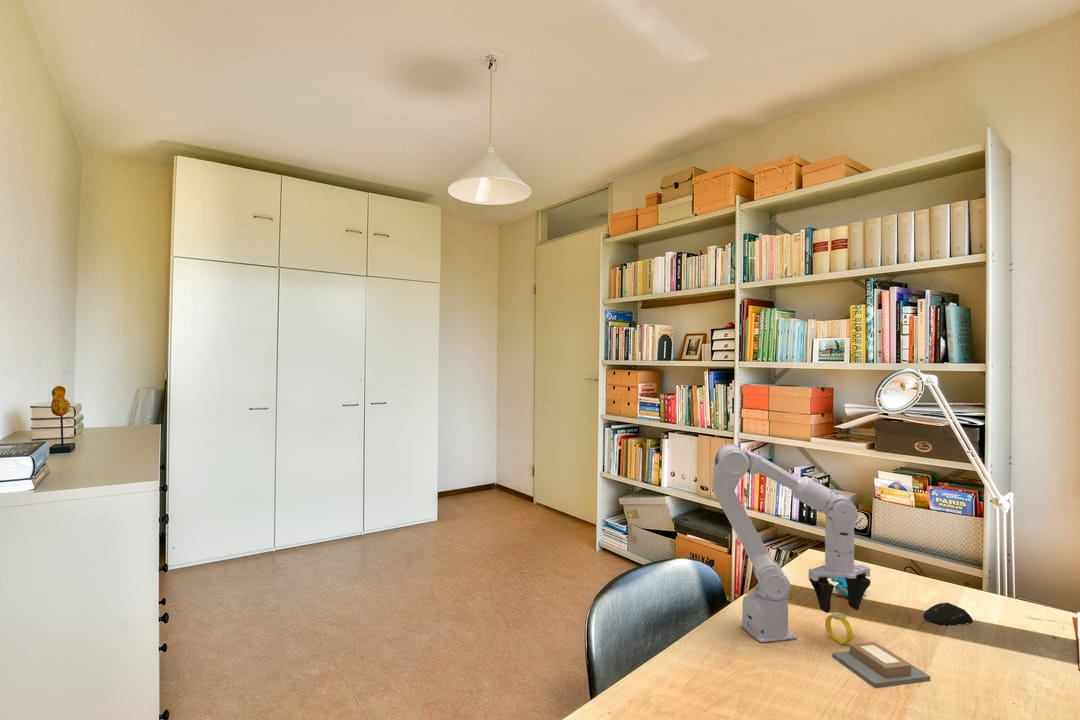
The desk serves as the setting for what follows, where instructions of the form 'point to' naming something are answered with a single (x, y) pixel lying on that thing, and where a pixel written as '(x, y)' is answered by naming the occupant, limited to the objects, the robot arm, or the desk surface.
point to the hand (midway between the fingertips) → (839, 609)
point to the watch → (843, 618)
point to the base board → (876, 676)
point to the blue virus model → (841, 584)
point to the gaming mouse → (947, 615)
